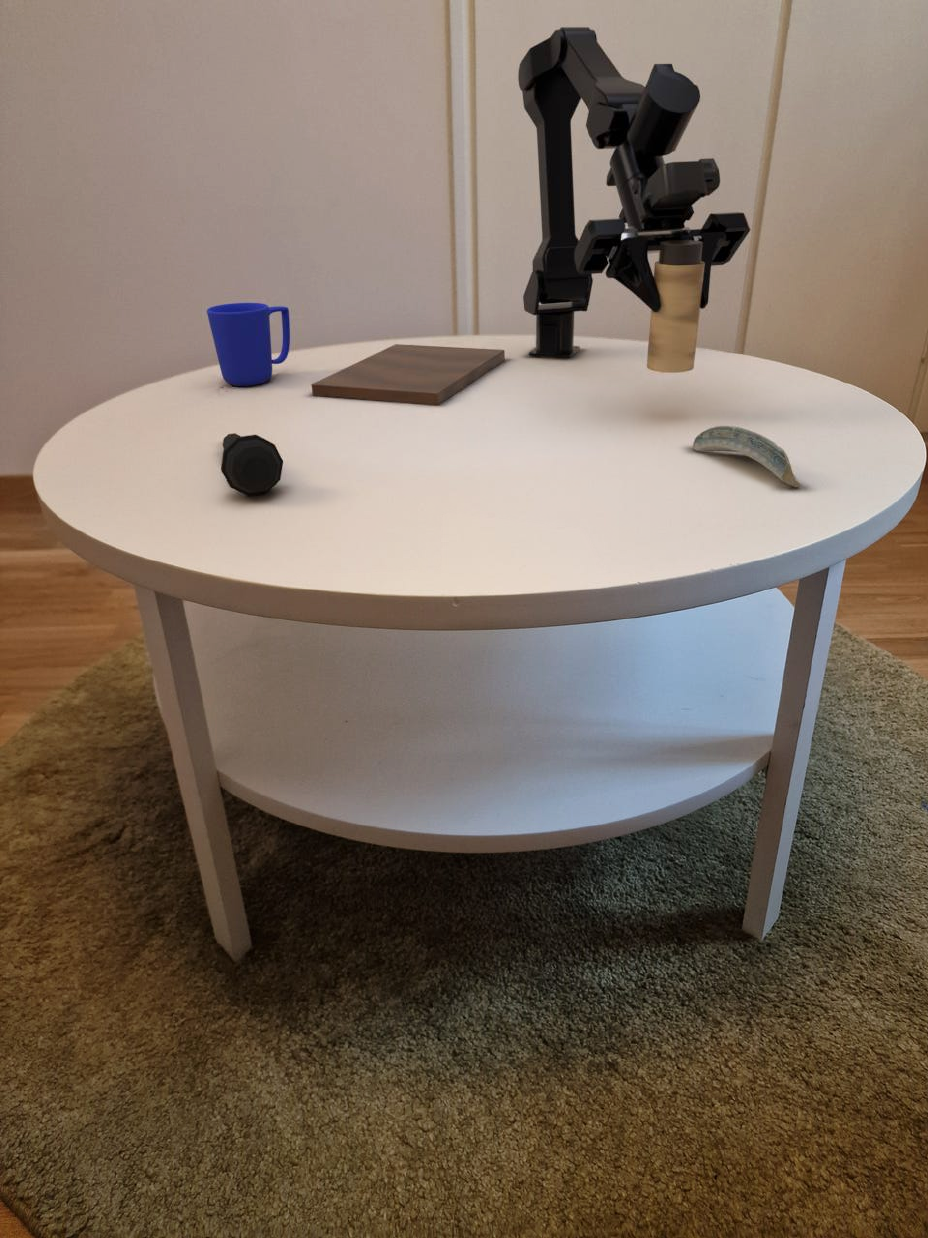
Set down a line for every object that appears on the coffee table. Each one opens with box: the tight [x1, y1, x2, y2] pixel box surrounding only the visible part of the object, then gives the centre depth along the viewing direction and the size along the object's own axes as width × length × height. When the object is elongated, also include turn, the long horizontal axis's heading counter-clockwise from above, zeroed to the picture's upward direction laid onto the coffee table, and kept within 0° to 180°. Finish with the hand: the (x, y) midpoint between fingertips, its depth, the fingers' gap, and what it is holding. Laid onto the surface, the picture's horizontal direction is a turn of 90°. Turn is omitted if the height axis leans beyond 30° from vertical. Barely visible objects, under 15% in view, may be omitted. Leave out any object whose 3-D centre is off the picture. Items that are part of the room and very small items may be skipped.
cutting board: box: [311, 343, 506, 406], centre depth 120 cm, size 26×18×2 cm
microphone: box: [220, 432, 284, 497], centre depth 86 cm, size 6×6×20 cm
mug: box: [206, 302, 291, 387], centre depth 119 cm, size 8×12×10 cm
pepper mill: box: [646, 240, 705, 374], centre depth 93 cm, size 5×5×13 cm
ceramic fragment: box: [692, 425, 802, 488], centre depth 83 cm, size 14×5×4 cm, turn 22°
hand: (681, 307), depth 92 cm, fingers closed on pepper mill, 5 cm apart
